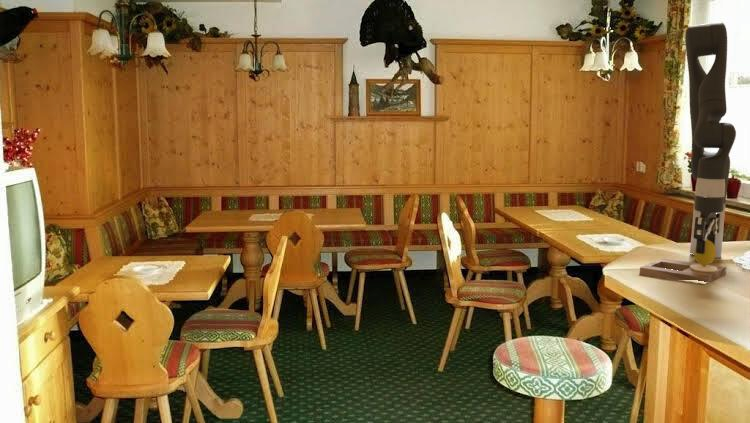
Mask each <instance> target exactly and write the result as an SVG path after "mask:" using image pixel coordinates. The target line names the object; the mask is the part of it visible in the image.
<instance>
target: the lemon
mask: <svg viewBox="0 0 750 423" xmlns="http://www.w3.org/2000/svg"><path fill="white" fill-rule="evenodd" d="M694 255H695V256H694V258H695V261H696V262H697V263H701V264H702V266H706V265H707V264H708V265H711V263H713V261H715V259H716V258H715V255H716V249H715V245H714V244H713V243H712V242H711V241H709V240H708V239H706V244H705V253H704V254H698V253H696V247H695V251H694Z"/></svg>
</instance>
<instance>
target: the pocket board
mask: <svg viewBox="0 0 750 423" xmlns="http://www.w3.org/2000/svg"><path fill="white" fill-rule="evenodd" d="M693 264H701V263H699V262H694V261H693V262H692V261H687V260H680V259H674V258H667V257H662V258H659V259H657V260H654V261H652V262H650V263H648V264H645V265H643V266H640V268H639V275H644V276H649V277H655V278H660V279H661V278H662V279H666V280H672V281H678V280H698V281H704V282H710V283H711V282H713V281H715V280H717V279H719V278H721V277H722V276H724V275H726V273H727V266H720V265H714V264H713V265H712V264H710V265H711V266H715V267H717V272H699V271H694V270H691V269H690V265H693ZM707 265H709V264H707ZM665 268H666V269H665ZM671 269H673V270H671ZM677 270H678V271H677Z"/></svg>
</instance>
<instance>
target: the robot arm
mask: <svg viewBox="0 0 750 423" xmlns="http://www.w3.org/2000/svg"><path fill="white" fill-rule="evenodd" d="M684 40H685V51H686V61H687V68H688V69H687V71H688V83H689V85H688V86H689V90H688V91H689V94H688V95H689V114H690V115H689V116H690V124H691V163H690V164H691V165H690V166H691V176H692V178H693V179H694V180H696V183H695V192H694V197H693V198H694V199H693V213H692V223H691V224H692V225H691V237H690V250H689V254H690V253H693V254H694V251H695V247H696V253H698V254H704V253H705V244H706V239H708V240H709V241H711V242H712V243H713V244H714V245H715V249H716V255H715V258H714V259H718V258H721V257H722V252H723V251H722V248H723V240H724V239H723V238H724V237H723V236H724V229H725V228H724V226H725V225H724V224H725V216H726V215H725V214H726V201H727V195H728V194H727V192H728V183H729V176H730V169H731V158H730V153H731V151H732V149H733V148H732V147H733V145H734V143H735V140H736V136H737V131H736V128H735V126H734V125H733V124H732V123H730V122H721V120H722V118H723V117H724V116H725V115H726V114H727V110H728V108H727V97H726V75H727V65H728V64H727V61H728V31H727V27H726V25H725V24H724V22H721V21H717V22H708V23H701V24H694V25H690V26H688V27H687V28H686V30H685V36H684ZM706 56H715V57H714V60H713V61H714V62H713V64H712V65H711V68H710V69H709V71H708V72H706V71H705V70H704V68H703V66H702V65H701V62H700V59H699V58H700V57H706ZM705 149H718V150H717V152H714V151H713V152H711V151H710V152H708V151H705Z"/></svg>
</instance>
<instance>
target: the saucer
mask: <svg viewBox="0 0 750 423" xmlns="http://www.w3.org/2000/svg"><path fill="white" fill-rule="evenodd" d="M711 265H712V264H708V265H706V266H702V264H693V265H690V269H691V270H694V271H699V272H717V267H715V266H716V265H715V266H711Z"/></svg>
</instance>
